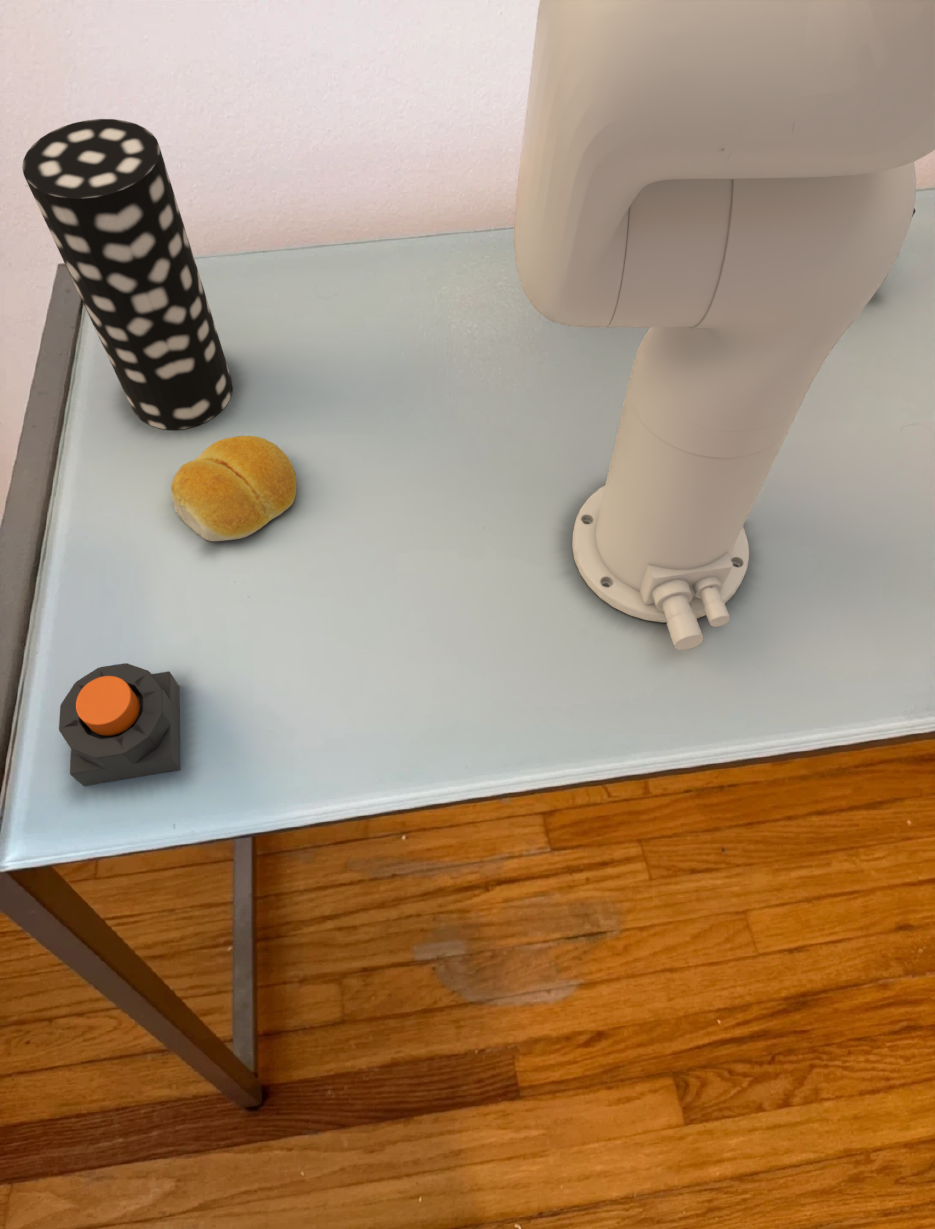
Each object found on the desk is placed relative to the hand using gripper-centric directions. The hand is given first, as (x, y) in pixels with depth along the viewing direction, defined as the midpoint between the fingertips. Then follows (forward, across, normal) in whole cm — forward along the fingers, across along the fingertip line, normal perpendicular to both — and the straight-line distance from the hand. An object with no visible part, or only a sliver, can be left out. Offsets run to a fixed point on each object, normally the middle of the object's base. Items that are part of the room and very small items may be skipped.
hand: (625, 247), depth 73 cm
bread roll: (+5, -34, -18) cm, 39 cm away
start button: (+1, -41, -37) cm, 55 cm away
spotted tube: (+5, -38, -6) cm, 39 cm away
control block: (+5, -41, -36) cm, 55 cm away
